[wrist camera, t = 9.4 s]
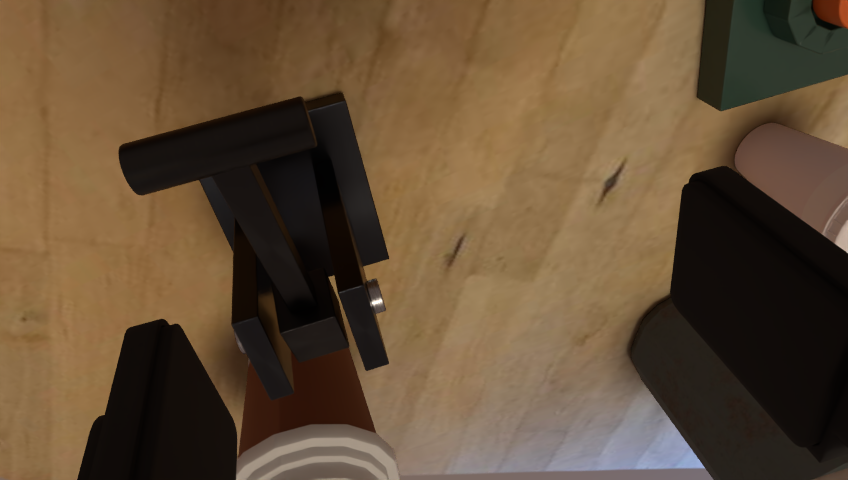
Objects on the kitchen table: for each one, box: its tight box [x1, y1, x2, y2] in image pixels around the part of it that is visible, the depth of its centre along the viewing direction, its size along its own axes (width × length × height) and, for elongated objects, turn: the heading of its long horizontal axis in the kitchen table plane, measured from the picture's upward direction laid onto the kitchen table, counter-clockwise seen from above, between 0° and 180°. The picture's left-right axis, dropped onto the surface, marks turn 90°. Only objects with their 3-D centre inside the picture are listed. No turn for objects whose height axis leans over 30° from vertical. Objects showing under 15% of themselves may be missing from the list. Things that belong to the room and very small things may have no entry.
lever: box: [119, 97, 349, 363], centre depth 21 cm, size 12×5×2 cm, turn 11°
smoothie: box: [735, 123, 848, 253], centre depth 33 cm, size 6×6×14 cm
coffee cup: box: [236, 348, 401, 480], centre depth 34 cm, size 9×9×12 cm
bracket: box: [199, 93, 389, 401], centre depth 28 cm, size 10×8×12 cm
